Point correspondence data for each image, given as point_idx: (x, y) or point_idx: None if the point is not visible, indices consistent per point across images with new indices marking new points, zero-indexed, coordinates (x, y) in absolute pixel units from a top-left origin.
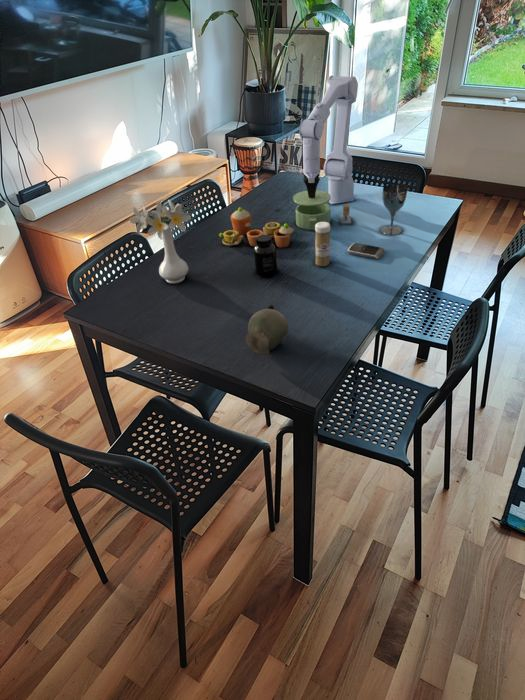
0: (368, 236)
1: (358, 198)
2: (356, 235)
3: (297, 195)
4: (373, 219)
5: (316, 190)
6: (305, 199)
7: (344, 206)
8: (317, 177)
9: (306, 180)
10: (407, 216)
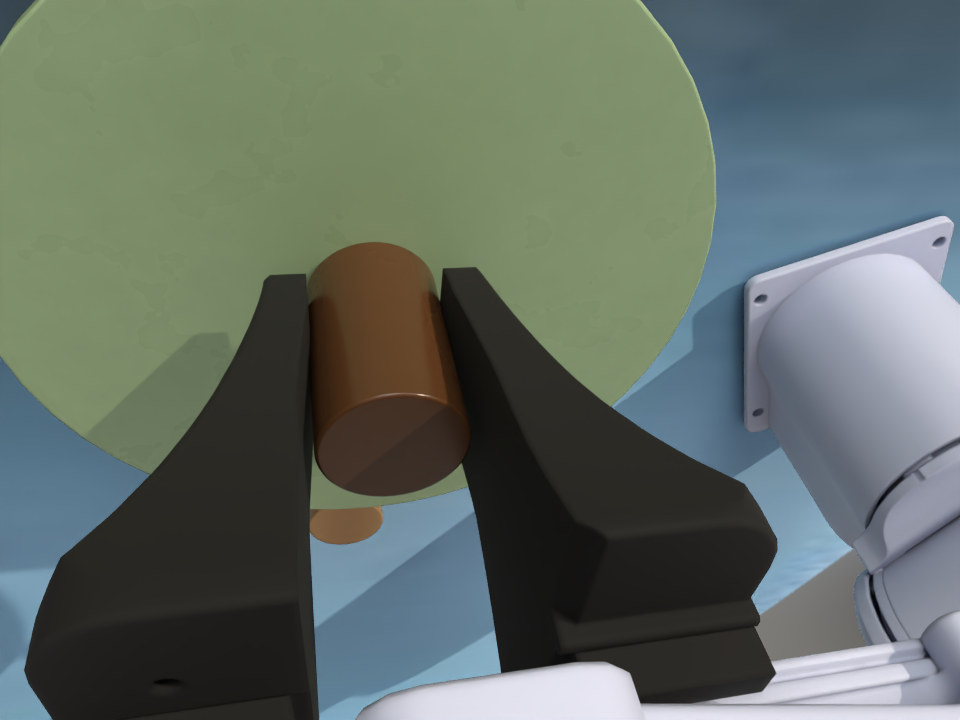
0: (30, 536)
1: (777, 445)
2: (28, 471)
3: (506, 8)
4: (366, 538)
5: (651, 341)
6: (247, 190)
7: (331, 512)
8: (506, 671)
9: (35, 672)
10: (397, 656)
